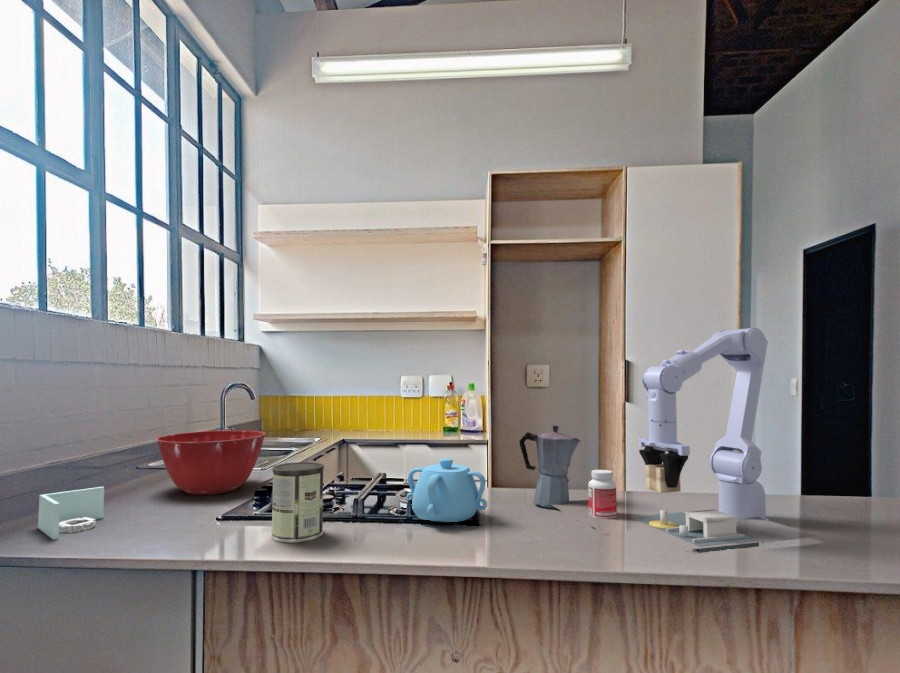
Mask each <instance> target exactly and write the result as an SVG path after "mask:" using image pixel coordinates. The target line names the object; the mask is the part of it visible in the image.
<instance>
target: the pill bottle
mask: <svg viewBox="0 0 900 673" xmlns="http://www.w3.org/2000/svg"><path fill="white" fill-rule="evenodd" d="M613 473H614V472H613V471H612V470H607V469H593V470H591V478H592V479H591V480H590V481H589V482H588V485H587V487H588V490H587V492H588V493H587V494H588V516H590V517H592V518H596V519H601V520H603V519H608V520H610V519H615V518H617V517H618V516H617V515H618V514H617V513H618V512H617V511H618V509H617V508H618V507H617V485H616V482H615V481H613V480H612V479H613V476H614V474H613Z"/></svg>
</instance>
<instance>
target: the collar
mask: <svg viewBox="0 0 900 673" xmlns="http://www.w3.org/2000/svg"><path fill="white" fill-rule="evenodd" d="M644 468H645V489H646V490H650V491H654V492H656V493H659V494H665V493H679V492H681V490H682V489H681V476H680V477H679V481H678V485H677V487H675V488H668V487H667V485H666V479H665V470H664V465H663V463H662V464H655V465H645V467H644Z"/></svg>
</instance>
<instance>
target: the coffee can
mask: <svg viewBox="0 0 900 673" xmlns="http://www.w3.org/2000/svg"><path fill="white" fill-rule="evenodd" d="M324 469H325V465H324V464H323V463H320V462H315V461H314V462H311V461H302V462H301V461H299V462H286V463H281V464H277V465H273V466H272V470H271V471H272V504H271V505H272V506H271V507H272V510H271V511H272V513H271V515H272V516H271V517H272V518H271V520H272V521H271V539H272V540H274V541H275V542H279V543H303V542H309V541H313V540H317V539H318V538H320V537H322V536H323V534H324V532H323V525H324V524H323V520H324V519H323V518H324V517H323V514H324V512H323V511H324V508H323V507H324V506H323V505H324V503H323V502H324V501H323V500H324Z"/></svg>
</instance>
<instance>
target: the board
mask: <svg viewBox="0 0 900 673" xmlns="http://www.w3.org/2000/svg"><path fill="white" fill-rule="evenodd" d="M630 518H631V519H634V520H637V521H638V522H640V523H643V524H645V525H647V526H650V527H652V528H655V529H657V530H659V531H661V532H664V533H666V534H669V535H671V536H674V537H675V538H679V540H682V541H686V543H687V542H688V543H689V544H692V545H695V546H697V547H701V548H693V550H692V551H694V550H695V551H694V552H696V551H697V553H699V554H700V553H701V554H702V553H710V551H712V552H718V551H719V550H721V551H728V550H727V549H730V550H737V548H738V549H747V548H755V547H760V542H755V541H758V539H757V538H754V537H751V536H748V535H747V534H746V535H745V534H744V533H740V532H737V531H736V535H727V536H717V537H707V538H706V537H704V531H703V530H694V531H688V526H686V512H681V511H680V512H669V513H668V510H665V509H660V511H659V513H658V514H657V513H656V514H644V515H634V516H632V515H631V516H630ZM747 542H748V543H747ZM736 543H739V544H736ZM726 544H727V545H726ZM728 544H731V545H728ZM716 545H721V546H716ZM709 546H711V547H709ZM719 552H720V551H719Z"/></svg>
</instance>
